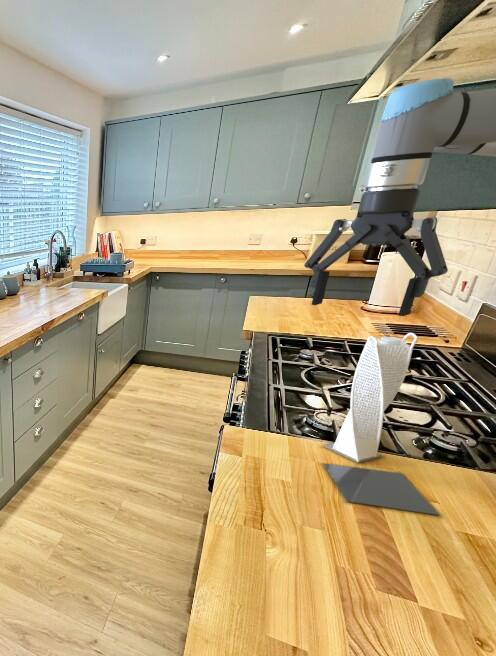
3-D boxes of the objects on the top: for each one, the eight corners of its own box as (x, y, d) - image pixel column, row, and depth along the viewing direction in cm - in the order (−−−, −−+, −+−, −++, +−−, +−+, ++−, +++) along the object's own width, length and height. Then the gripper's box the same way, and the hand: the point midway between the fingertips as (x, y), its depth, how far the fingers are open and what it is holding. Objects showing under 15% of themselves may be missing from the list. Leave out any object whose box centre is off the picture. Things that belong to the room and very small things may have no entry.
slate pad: (401, 474, 84) (401, 473, 84) (438, 515, 73) (439, 514, 73) (323, 464, 88) (323, 463, 88) (347, 502, 77) (347, 501, 77)
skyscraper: (389, 459, 89) (436, 332, 78) (361, 467, 87) (405, 338, 76) (347, 441, 96) (385, 323, 86) (320, 447, 94) (355, 327, 84)
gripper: (300, 194, 81) (277, 302, 89) (492, 182, 61) (440, 324, 69) (319, 193, 84) (295, 297, 92) (506, 181, 64) (455, 316, 72)
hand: (357, 309), depth 81 cm, fingers open, 13 cm apart
